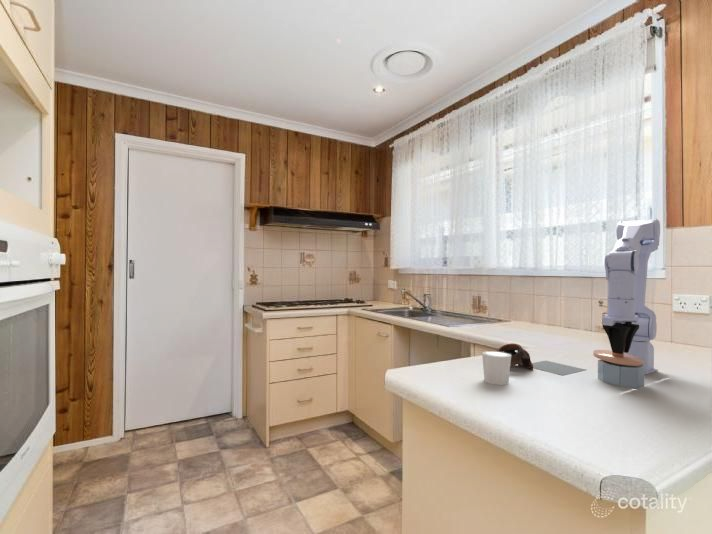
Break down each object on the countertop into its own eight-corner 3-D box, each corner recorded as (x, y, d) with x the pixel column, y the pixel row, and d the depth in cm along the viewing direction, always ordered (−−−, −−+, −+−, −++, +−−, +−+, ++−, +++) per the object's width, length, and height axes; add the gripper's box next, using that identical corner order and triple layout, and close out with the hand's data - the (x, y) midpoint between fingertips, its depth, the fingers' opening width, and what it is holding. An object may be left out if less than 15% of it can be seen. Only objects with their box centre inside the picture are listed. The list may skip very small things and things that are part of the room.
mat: (545, 361, 114) (545, 360, 114) (586, 371, 104) (586, 369, 104) (521, 366, 108) (521, 365, 108) (562, 377, 97) (562, 375, 97)
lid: (603, 350, 101) (605, 335, 100) (650, 362, 92) (652, 345, 92) (585, 355, 95) (587, 338, 95) (633, 368, 86) (635, 350, 86)
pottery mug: (542, 376, 100) (531, 351, 98) (508, 389, 101) (497, 365, 99) (524, 355, 111) (514, 332, 110) (494, 367, 113) (484, 344, 111)
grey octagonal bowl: (609, 376, 99) (609, 357, 99) (648, 385, 91) (649, 364, 91) (592, 380, 94) (592, 361, 94) (632, 390, 87) (632, 369, 87)
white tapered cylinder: (515, 381, 93) (515, 353, 93) (504, 387, 88) (505, 358, 88) (488, 375, 97) (488, 349, 98) (477, 381, 92) (477, 353, 92)
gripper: (617, 296, 100) (616, 346, 100) (589, 298, 93) (588, 352, 93) (648, 298, 94) (647, 352, 94) (620, 300, 87) (620, 358, 87)
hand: (620, 352), depth 93 cm, fingers closed on lid, 2 cm apart
